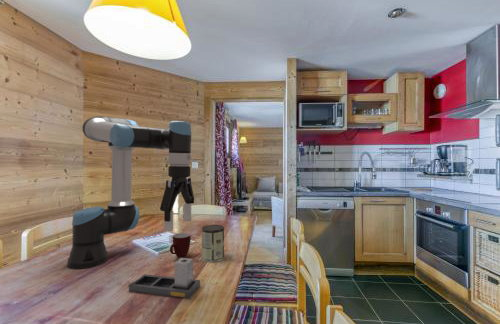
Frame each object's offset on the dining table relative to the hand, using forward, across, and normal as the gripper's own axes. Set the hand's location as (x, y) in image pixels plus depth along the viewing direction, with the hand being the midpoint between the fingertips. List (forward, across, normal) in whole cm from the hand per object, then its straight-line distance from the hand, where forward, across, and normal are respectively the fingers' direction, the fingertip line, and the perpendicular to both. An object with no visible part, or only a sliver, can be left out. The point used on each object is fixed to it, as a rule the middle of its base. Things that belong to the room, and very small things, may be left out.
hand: (178, 225), depth 89 cm
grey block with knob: (+21, -3, -4) cm, 22 cm away
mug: (+22, +25, +12) cm, 36 cm away
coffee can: (+22, +28, -3) cm, 36 cm away
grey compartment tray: (+22, -3, +3) cm, 22 cm away
